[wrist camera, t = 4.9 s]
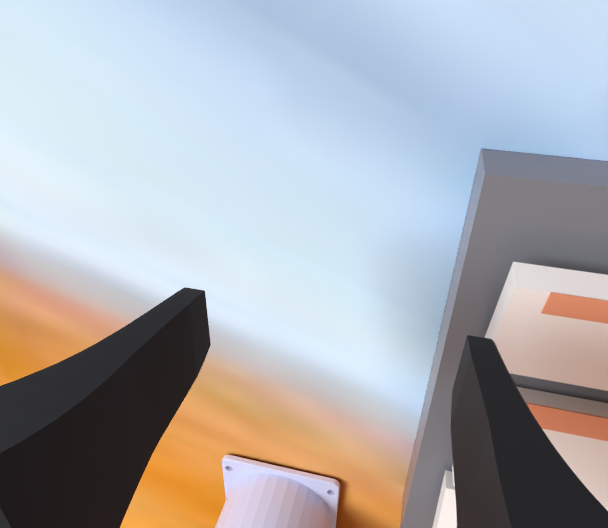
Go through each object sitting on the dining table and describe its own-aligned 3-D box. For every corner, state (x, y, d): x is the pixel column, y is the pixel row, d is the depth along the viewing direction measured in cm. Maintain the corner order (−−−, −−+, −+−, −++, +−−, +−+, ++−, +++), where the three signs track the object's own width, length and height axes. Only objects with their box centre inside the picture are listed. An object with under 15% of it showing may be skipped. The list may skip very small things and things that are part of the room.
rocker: (669, 515, 22) (683, 538, 21) (452, 468, 24) (453, 487, 22) (706, 421, 20) (723, 440, 19) (471, 378, 22) (474, 393, 21)
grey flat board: (607, 542, 30) (618, 587, 28) (402, 496, 32) (399, 534, 30) (1012, -59, 13) (1113, -58, 11) (530, -71, 15) (543, -72, 13)
